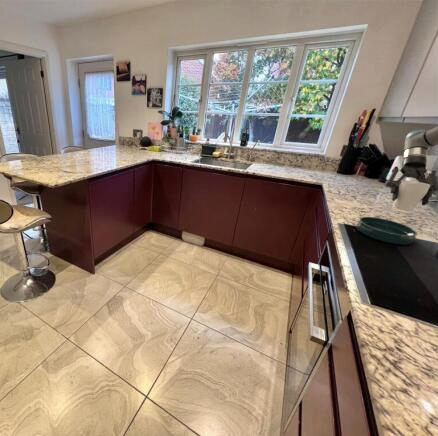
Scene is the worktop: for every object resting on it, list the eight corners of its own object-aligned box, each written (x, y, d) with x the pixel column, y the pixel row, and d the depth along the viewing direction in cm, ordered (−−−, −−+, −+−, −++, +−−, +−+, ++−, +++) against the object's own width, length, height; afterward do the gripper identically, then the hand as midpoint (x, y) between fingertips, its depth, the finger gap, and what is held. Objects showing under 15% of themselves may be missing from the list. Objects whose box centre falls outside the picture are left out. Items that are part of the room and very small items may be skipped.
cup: (421, 213, 101) (436, 187, 96) (395, 210, 104) (409, 184, 99) (408, 206, 109) (422, 181, 104) (384, 203, 112) (396, 179, 107)
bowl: (418, 239, 98) (424, 230, 96) (401, 249, 90) (407, 239, 88) (365, 222, 112) (370, 214, 110) (347, 229, 104) (351, 220, 102)
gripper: (441, 168, 106) (438, 210, 100) (379, 162, 116) (373, 200, 111) (454, 158, 100) (451, 202, 94) (387, 152, 110) (381, 192, 104)
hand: (409, 201), depth 102 cm, fingers closed on cup, 9 cm apart
